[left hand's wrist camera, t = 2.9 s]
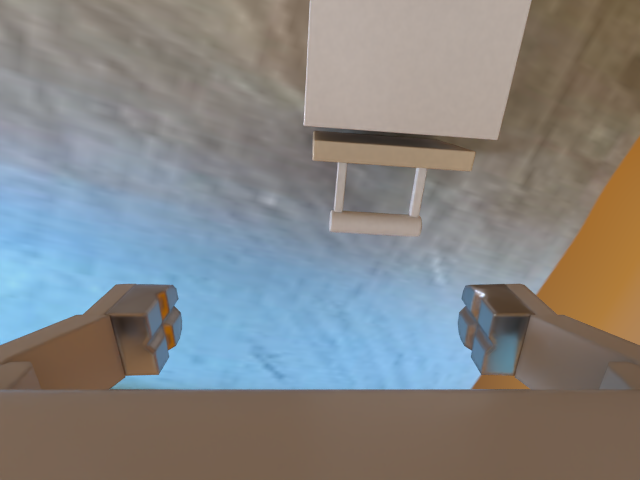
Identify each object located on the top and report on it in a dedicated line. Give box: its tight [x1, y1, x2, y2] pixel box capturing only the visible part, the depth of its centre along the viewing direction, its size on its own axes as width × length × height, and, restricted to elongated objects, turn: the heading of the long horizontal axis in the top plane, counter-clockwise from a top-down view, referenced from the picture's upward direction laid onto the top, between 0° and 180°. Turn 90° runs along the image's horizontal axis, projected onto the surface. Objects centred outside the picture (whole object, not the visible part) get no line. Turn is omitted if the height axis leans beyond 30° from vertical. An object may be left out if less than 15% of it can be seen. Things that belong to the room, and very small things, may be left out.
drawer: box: [312, 131, 475, 237], centre depth 22 cm, size 26×10×7 cm, turn 176°
